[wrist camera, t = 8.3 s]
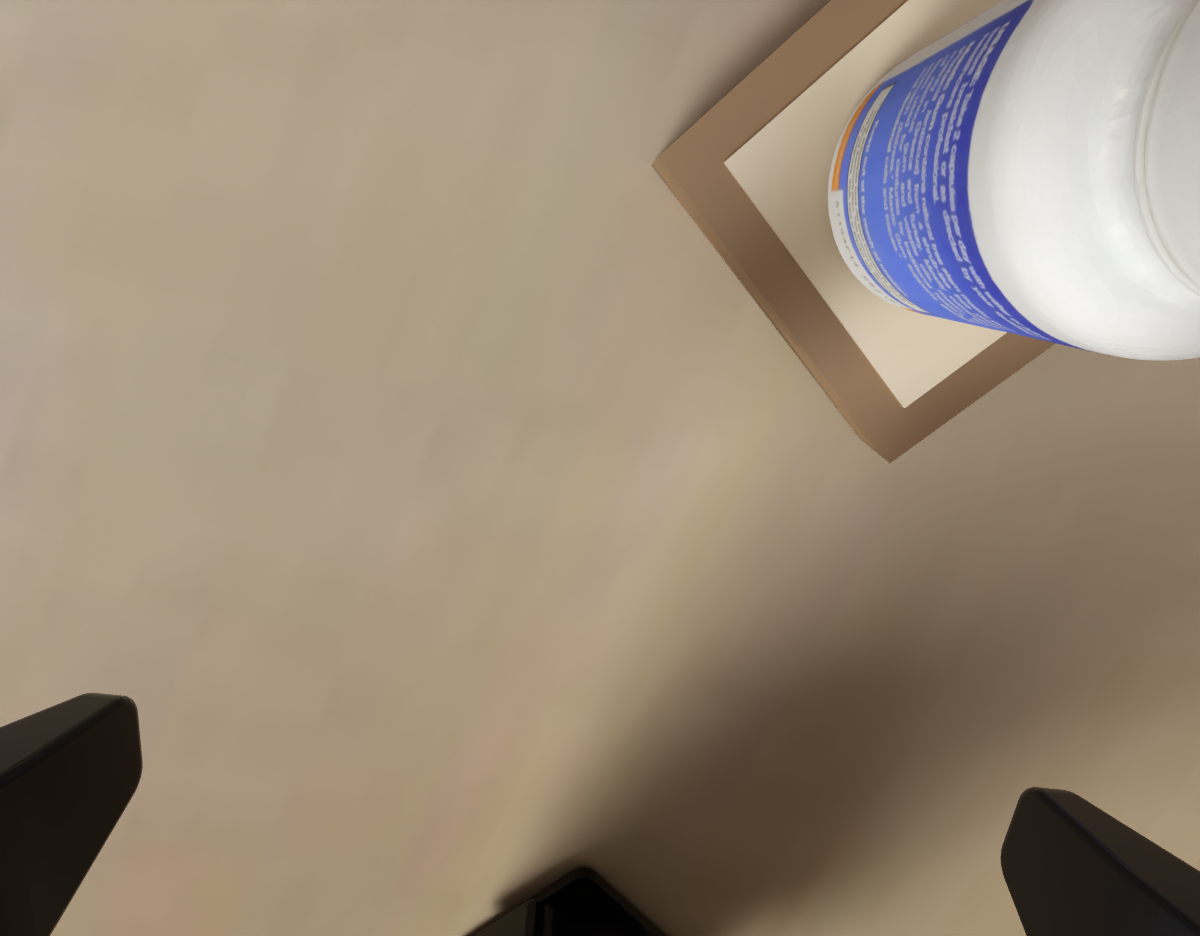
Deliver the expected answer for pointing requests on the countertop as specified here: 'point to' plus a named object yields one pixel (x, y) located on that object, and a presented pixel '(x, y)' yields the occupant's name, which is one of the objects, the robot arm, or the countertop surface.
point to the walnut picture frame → (803, 229)
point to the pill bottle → (1036, 177)
